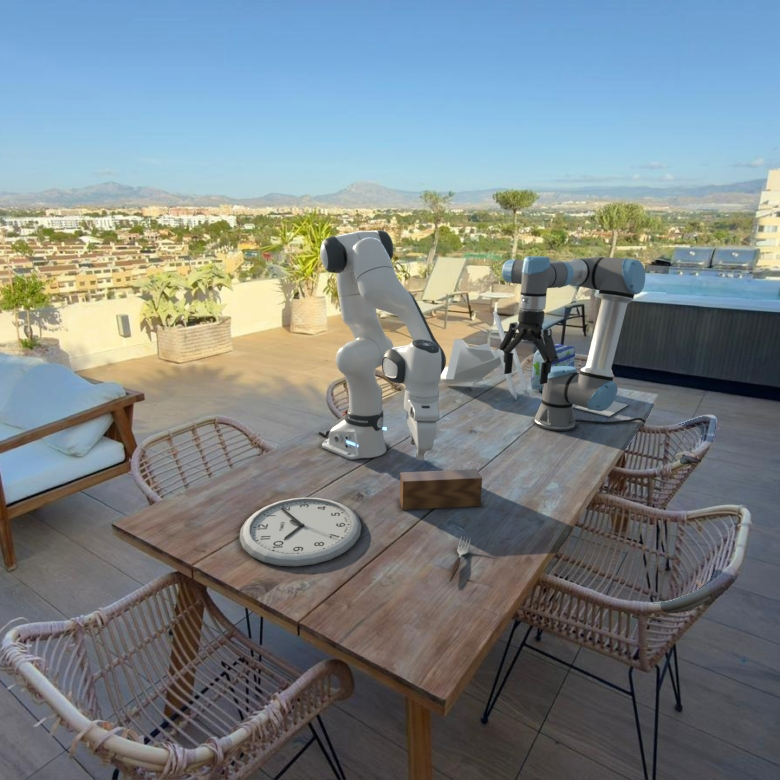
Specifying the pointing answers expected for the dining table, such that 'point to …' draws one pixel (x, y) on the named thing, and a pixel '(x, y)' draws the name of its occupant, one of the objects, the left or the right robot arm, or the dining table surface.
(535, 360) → the lunch box
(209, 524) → the dining table surface
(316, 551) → the wall clock
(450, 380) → the white plastic object
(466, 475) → the bar
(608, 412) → the invitation card
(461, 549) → the fork
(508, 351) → the right robot arm
